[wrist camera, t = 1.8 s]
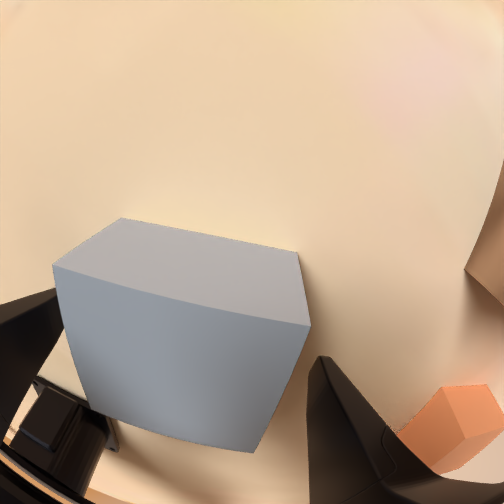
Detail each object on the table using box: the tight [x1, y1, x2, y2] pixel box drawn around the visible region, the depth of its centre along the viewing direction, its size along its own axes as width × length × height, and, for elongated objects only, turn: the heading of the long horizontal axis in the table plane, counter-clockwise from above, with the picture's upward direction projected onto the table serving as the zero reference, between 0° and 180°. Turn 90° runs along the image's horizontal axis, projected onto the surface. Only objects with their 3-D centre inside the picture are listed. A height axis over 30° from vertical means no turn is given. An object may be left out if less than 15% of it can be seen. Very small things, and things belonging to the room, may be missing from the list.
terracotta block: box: [396, 384, 504, 475], centre depth 11 cm, size 5×5×4 cm
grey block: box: [52, 218, 311, 453], centre depth 8 cm, size 6×6×4 cm
